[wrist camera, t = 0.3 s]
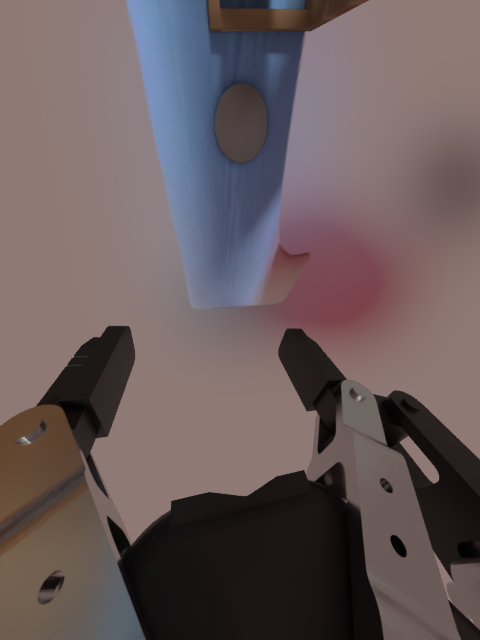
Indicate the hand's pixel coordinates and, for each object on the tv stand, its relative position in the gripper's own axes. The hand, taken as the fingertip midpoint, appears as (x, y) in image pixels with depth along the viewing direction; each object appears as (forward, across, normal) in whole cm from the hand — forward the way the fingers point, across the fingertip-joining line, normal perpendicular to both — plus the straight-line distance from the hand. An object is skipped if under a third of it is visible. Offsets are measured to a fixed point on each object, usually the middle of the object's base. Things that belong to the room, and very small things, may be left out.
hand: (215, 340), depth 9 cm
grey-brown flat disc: (+26, -4, -15) cm, 30 cm away
